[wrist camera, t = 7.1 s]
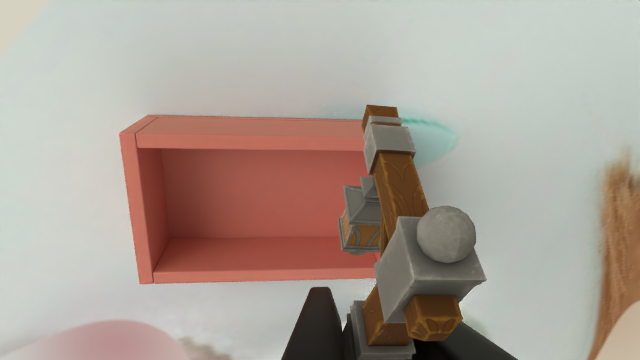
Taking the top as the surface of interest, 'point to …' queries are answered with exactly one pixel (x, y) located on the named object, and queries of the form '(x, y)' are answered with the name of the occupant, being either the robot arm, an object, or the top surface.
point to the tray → (242, 198)
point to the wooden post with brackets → (403, 249)
